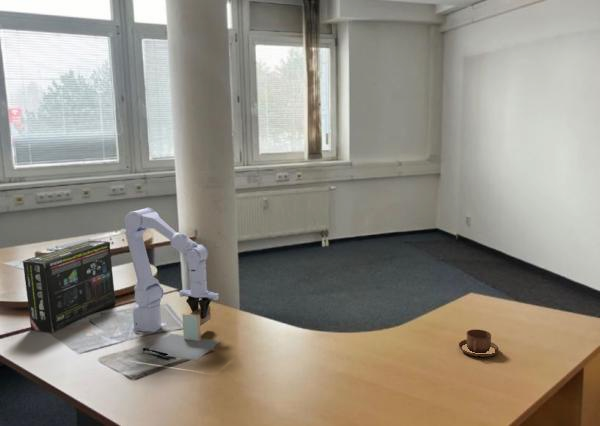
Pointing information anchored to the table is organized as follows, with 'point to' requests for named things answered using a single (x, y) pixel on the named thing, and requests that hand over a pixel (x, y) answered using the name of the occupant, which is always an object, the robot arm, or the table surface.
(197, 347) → the mat
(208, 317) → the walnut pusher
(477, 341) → the cup and saucer
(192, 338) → the tile
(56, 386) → the table surface
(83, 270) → the router box
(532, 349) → the table surface
